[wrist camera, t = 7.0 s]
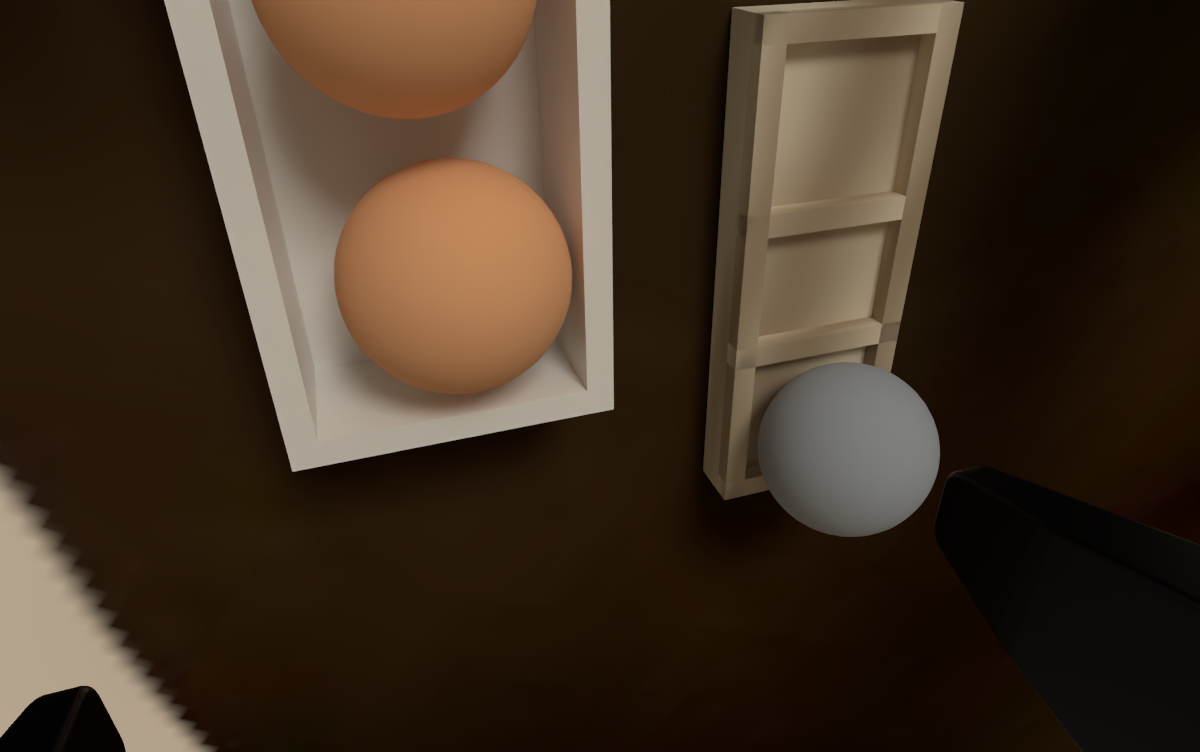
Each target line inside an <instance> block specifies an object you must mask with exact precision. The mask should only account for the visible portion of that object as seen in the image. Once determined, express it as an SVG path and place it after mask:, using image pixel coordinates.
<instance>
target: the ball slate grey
mask: <svg viewBox="0 0 1200 752" xmlns="http://www.w3.org/2000/svg"><path fill="white" fill-rule="evenodd" d="M758 458H759V464H760V468H761V472H762V475H763V478H764V480H765V482H766V485H767V486H768V488H769V490H770V492H771V493H772V495H773V496H774V498H775V499H776V501H777V502H778V503H779V504H780V505H781V506H782V507H783V509H784V510H785V511H787V512H788V513H789V514H790V515H791V516H793V517H794V518H795V519H796V520H798V521H799V522H801V523H803V524H805V525H807V526H808V527H810V528H812V529H815V530H818V531H820V532H823V533H826V534H831V535H836V536H843V537H858V536H867V535H872V534H876V533H879V532H882V531H885V530H888V529H890V528H892V527H894V526H896V525H898V524H899V523H901V522H902V521H904V520H905V519H906V518H908V517H909V516H910V515H911V514H912V513H914V512H915V511H916V510H917V508H918V507H919V506H920V505H921V504H922V503H923V501H924V500H925V499H926V497H927V496H928V494H929V492H930V490H931V488H932V486H933V484H934V481H935V478H936V475H937V472H938V467H939V459H940V446H939V436H938V432H937V429H936V426H935V422H934V419H933V417H932V415H931V414H930V412H929V410H928V408H927V406H926V404H925V403H924V402H923V400H922V399H921V398H920V397H919V395H918V394H917V393H916V392H915V391H914V390H913V389H912V388H911V387H910V386H909V385H908V384H906V383H905V382H904V381H903V380H901V379H900V378H898V377H897V376H895V375H893V374H891V373H890V372H888V371H885V370H883V369H881V368H878V367H875V366H871V365H867V364H862V363H854V362H838V363H831V364H825V365H821V366H818V367H815V368H812V369H810V370H808V371H806V372H804V373H802V374H800V375H798V376H797V377H795V378H794V379H792V380H791V381H790V382H788V383H787V384H786V385H785V386H784V387H783V388H782V389H781V390H780V391H779V392H778V393H777V394H776V396H775V397H774V398H773V400H772V401H771V403H770V405H769V406H768V408H767V410H766V412H765V414H764V417H763V419H762V422H761V426H760V431H759V436H758Z"/></svg>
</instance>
